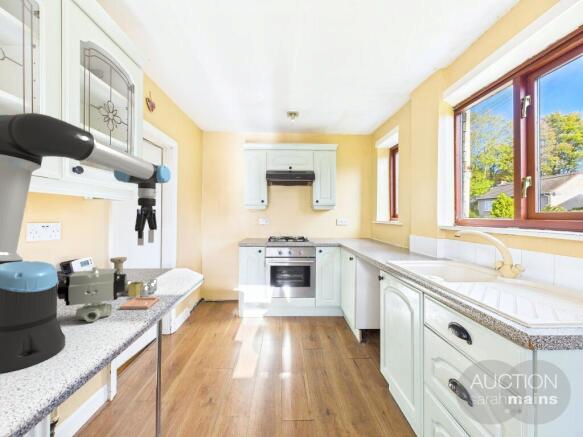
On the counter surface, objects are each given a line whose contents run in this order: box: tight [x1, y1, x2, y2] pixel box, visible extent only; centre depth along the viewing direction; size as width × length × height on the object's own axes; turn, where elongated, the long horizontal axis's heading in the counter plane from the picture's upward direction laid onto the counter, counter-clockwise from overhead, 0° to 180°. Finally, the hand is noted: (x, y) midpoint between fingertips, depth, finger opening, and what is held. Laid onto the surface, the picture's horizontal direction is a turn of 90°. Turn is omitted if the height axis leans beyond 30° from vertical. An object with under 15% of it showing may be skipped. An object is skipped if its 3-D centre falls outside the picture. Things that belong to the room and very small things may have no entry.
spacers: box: [118, 278, 158, 298], centre depth 111 cm, size 15×15×5 cm
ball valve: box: [57, 266, 128, 323], centre depth 85 cm, size 18×8×18 cm, turn 118°
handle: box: [110, 256, 128, 274], centre depth 117 cm, size 5×6×15 cm
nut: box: [127, 281, 144, 297], centre depth 111 cm, size 6×6×5 cm
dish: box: [119, 296, 160, 310], centre depth 99 cm, size 10×10×1 cm
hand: (146, 244), depth 120 cm, fingers open, 9 cm apart
